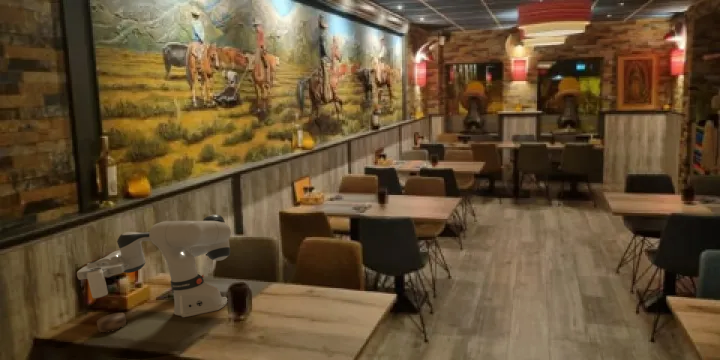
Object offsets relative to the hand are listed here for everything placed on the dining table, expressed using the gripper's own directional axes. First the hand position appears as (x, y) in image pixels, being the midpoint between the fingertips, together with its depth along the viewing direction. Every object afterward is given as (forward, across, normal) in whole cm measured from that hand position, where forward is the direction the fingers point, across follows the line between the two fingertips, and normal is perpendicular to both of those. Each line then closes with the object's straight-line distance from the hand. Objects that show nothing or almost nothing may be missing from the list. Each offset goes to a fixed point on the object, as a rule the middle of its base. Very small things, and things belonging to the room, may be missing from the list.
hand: (93, 276), depth 247 cm
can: (-1, 0, -9) cm, 9 cm away
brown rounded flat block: (+11, -9, -20) cm, 24 cm away
